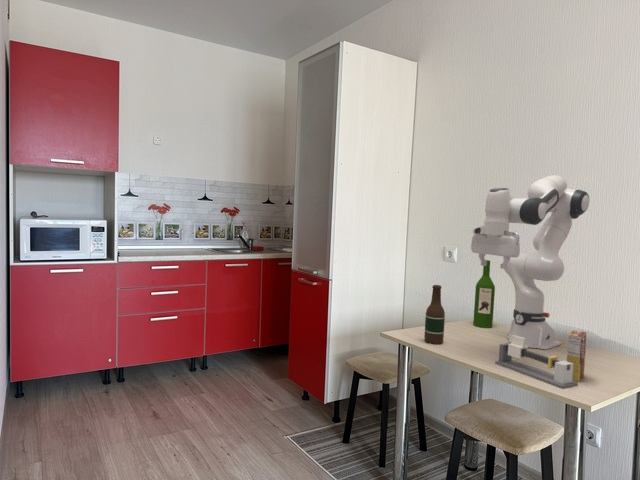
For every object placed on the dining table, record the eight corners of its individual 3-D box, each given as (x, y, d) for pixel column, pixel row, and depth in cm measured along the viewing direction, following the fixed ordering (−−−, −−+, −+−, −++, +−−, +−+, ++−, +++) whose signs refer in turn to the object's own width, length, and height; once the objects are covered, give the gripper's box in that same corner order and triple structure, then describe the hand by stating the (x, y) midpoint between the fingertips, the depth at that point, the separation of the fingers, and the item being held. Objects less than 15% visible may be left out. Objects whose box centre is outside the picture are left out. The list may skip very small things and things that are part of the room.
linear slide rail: (509, 360, 171) (511, 340, 171) (577, 385, 148) (579, 361, 148) (495, 363, 167) (496, 342, 167) (562, 388, 144) (564, 364, 144)
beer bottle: (443, 345, 188) (447, 287, 187) (424, 343, 189) (427, 286, 188) (442, 340, 195) (446, 284, 194) (423, 338, 197) (427, 283, 196)
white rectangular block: (515, 353, 167) (516, 334, 166) (527, 357, 162) (528, 338, 162) (507, 354, 165) (508, 335, 164) (519, 358, 161) (521, 339, 160)
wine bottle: (474, 327, 223) (479, 260, 221) (471, 323, 232) (476, 259, 230) (494, 328, 221) (498, 261, 219) (490, 324, 230) (494, 260, 228)
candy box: (570, 372, 161) (573, 329, 160) (584, 375, 158) (587, 332, 157) (564, 378, 154) (567, 334, 153) (578, 382, 151) (582, 336, 150)
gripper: (525, 232, 166) (522, 270, 166) (481, 229, 184) (478, 264, 184) (513, 231, 163) (510, 270, 163) (469, 229, 181) (467, 264, 181)
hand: (493, 267), depth 174 cm, fingers open, 8 cm apart
